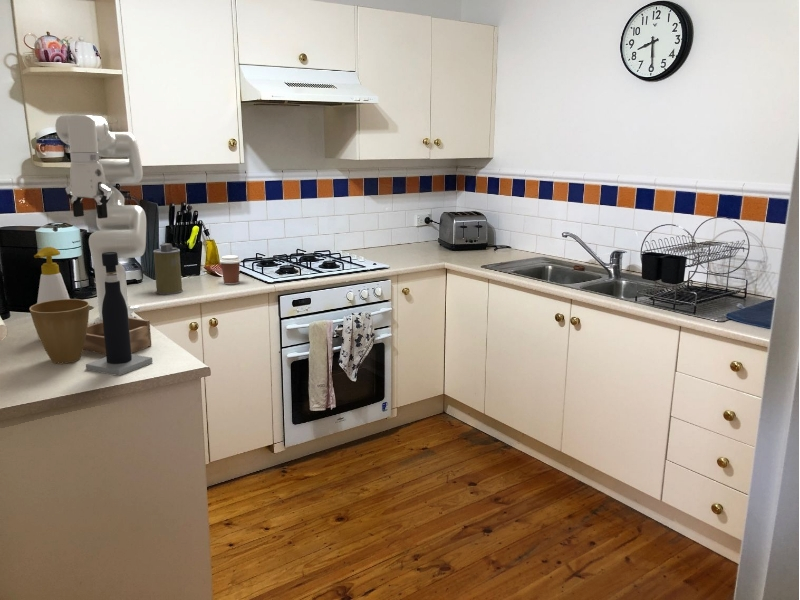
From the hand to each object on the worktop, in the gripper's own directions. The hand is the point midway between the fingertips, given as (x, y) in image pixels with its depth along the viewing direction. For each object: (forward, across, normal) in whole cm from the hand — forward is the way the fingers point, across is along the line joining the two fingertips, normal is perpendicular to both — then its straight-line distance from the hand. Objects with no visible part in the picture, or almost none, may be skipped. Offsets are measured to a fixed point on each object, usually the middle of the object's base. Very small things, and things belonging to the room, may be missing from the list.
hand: (90, 217), depth 197 cm
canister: (+38, +31, -63) cm, 80 cm away
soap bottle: (+38, +13, +6) cm, 41 cm away
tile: (+38, -24, +16) cm, 48 cm away
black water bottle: (+37, -24, +16) cm, 47 cm away
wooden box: (+38, -10, +4) cm, 40 cm away
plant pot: (+38, -6, +18) cm, 43 cm away
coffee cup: (+38, +19, -88) cm, 98 cm away
